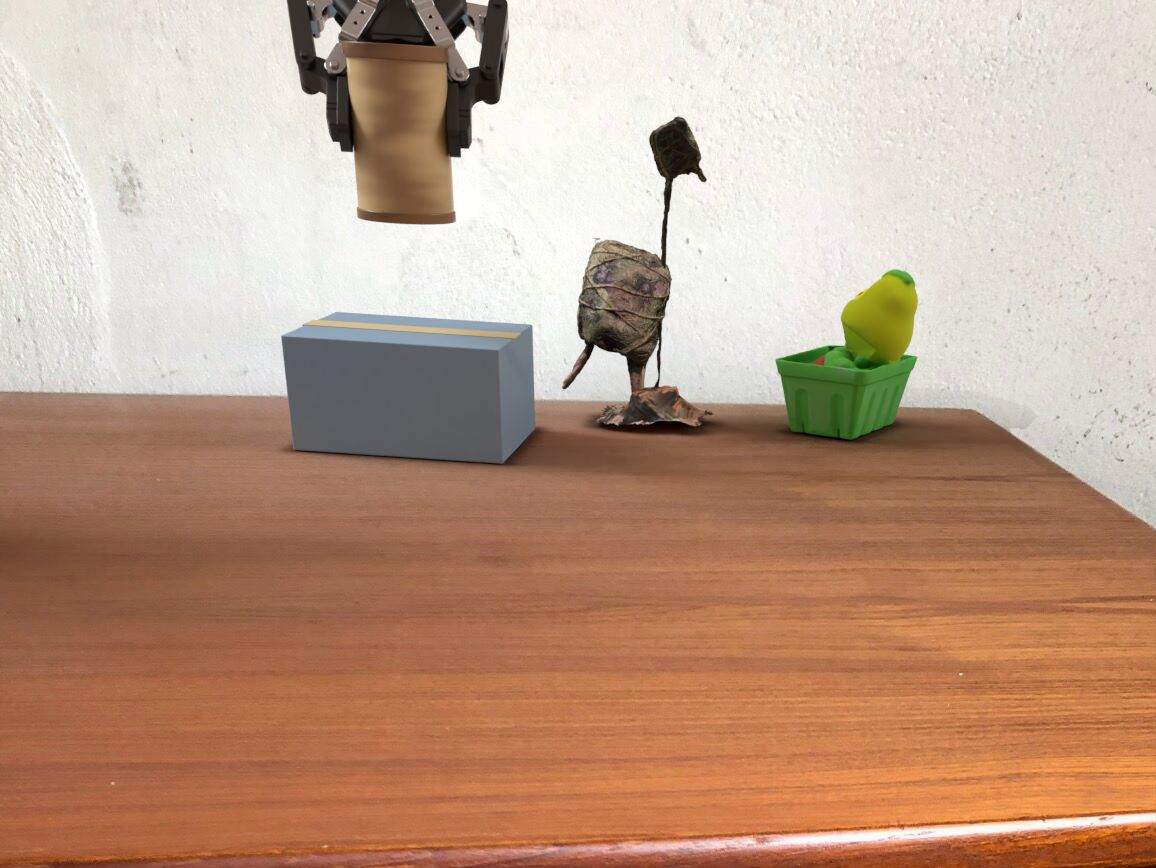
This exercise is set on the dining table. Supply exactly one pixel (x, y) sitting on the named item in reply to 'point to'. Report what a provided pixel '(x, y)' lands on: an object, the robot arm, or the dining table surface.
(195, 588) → the dining table surface
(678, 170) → the brown bird sculpture
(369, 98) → the tan lidded canister
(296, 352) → the blue box
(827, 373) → the fruit basket
